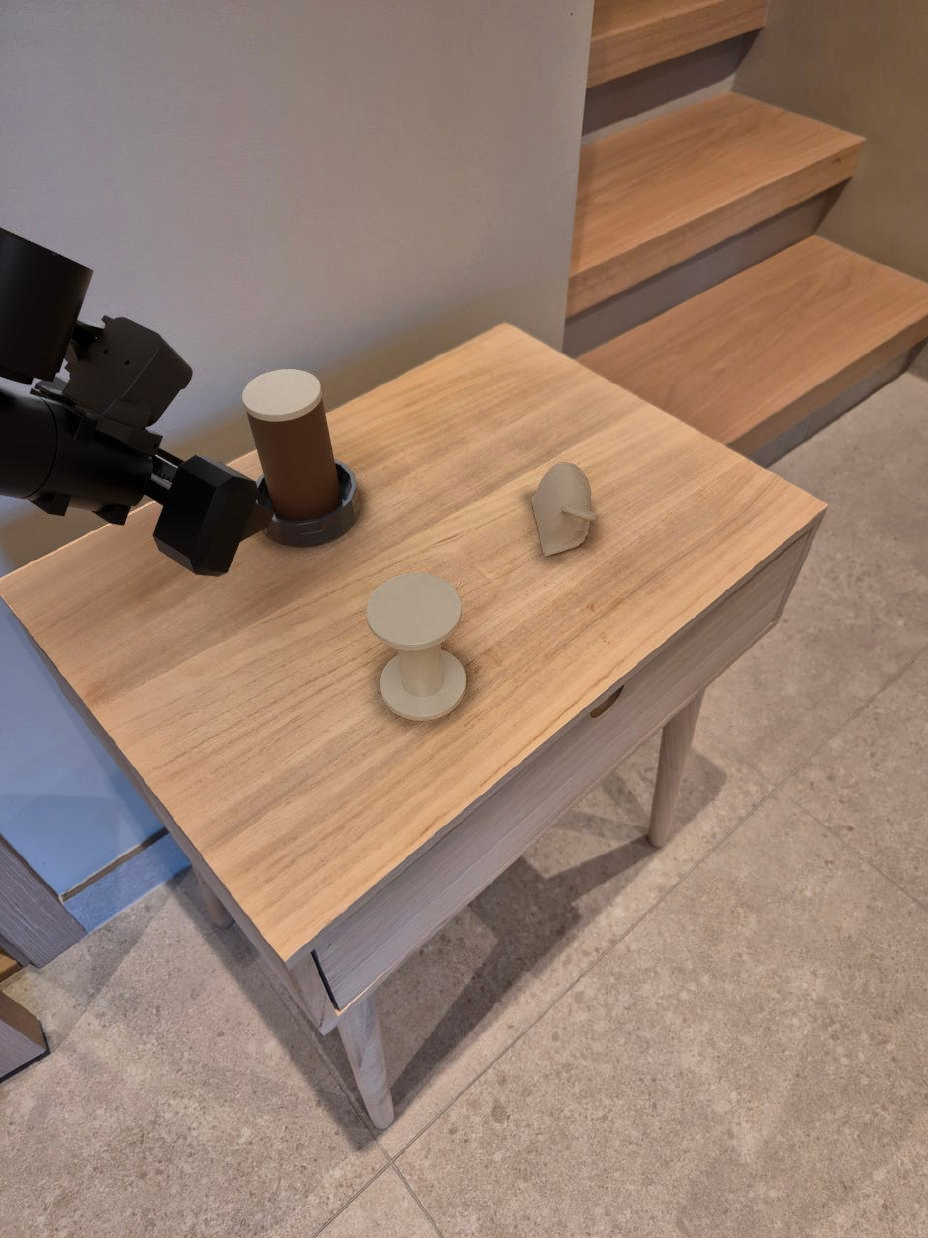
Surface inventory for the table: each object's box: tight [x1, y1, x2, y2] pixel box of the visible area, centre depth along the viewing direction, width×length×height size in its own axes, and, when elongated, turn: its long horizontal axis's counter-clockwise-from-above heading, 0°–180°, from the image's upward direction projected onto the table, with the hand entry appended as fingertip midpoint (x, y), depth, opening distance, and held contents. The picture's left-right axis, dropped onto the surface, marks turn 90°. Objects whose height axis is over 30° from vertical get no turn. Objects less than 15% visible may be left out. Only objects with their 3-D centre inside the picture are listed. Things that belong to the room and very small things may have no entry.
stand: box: [365, 572, 467, 722], centre depth 54 cm, size 6×6×8 cm
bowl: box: [256, 458, 361, 548], centre depth 68 cm, size 8×8×2 cm
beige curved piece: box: [530, 461, 599, 558], centre depth 64 cm, size 4×8×5 cm, turn 4°
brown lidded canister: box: [241, 368, 342, 521], centre depth 64 cm, size 6×6×11 cm
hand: (225, 492), depth 60 cm, fingers open, 9 cm apart
